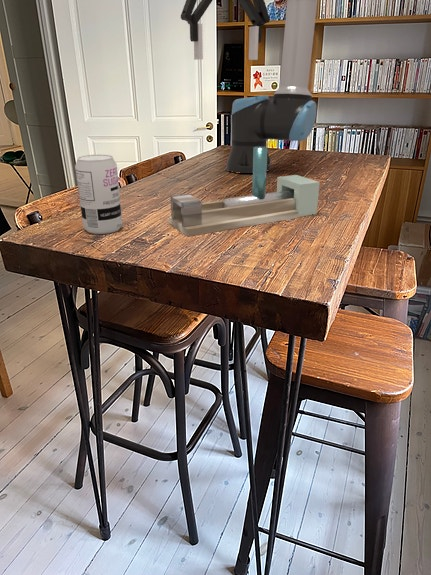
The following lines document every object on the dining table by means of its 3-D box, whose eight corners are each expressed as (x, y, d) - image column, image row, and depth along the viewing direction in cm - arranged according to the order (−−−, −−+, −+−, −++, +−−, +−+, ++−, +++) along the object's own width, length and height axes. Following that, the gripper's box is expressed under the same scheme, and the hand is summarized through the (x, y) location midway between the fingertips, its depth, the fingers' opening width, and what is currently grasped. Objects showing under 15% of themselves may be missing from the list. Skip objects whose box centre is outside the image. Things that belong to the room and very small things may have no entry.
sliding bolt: (222, 212, 101) (222, 149, 95) (294, 201, 109) (299, 142, 103) (229, 216, 98) (229, 151, 92) (303, 204, 106) (308, 144, 101)
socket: (275, 207, 111) (277, 177, 108) (294, 204, 113) (296, 174, 110) (297, 217, 104) (300, 184, 100) (316, 213, 106) (319, 182, 103)
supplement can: (87, 223, 100) (78, 154, 93) (124, 222, 101) (118, 153, 94) (80, 235, 93) (70, 161, 86) (121, 234, 93) (113, 160, 87)
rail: (169, 223, 100) (167, 194, 97) (273, 207, 111) (275, 181, 108) (187, 236, 92) (186, 205, 89) (297, 217, 103) (300, 189, 100)
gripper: (176, -73, 81) (180, 58, 90) (289, -58, 91) (283, 59, 101) (161, -63, 87) (167, 59, 97) (269, -50, 97) (265, 60, 107)
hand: (226, 59), depth 99 cm, fingers open, 13 cm apart
